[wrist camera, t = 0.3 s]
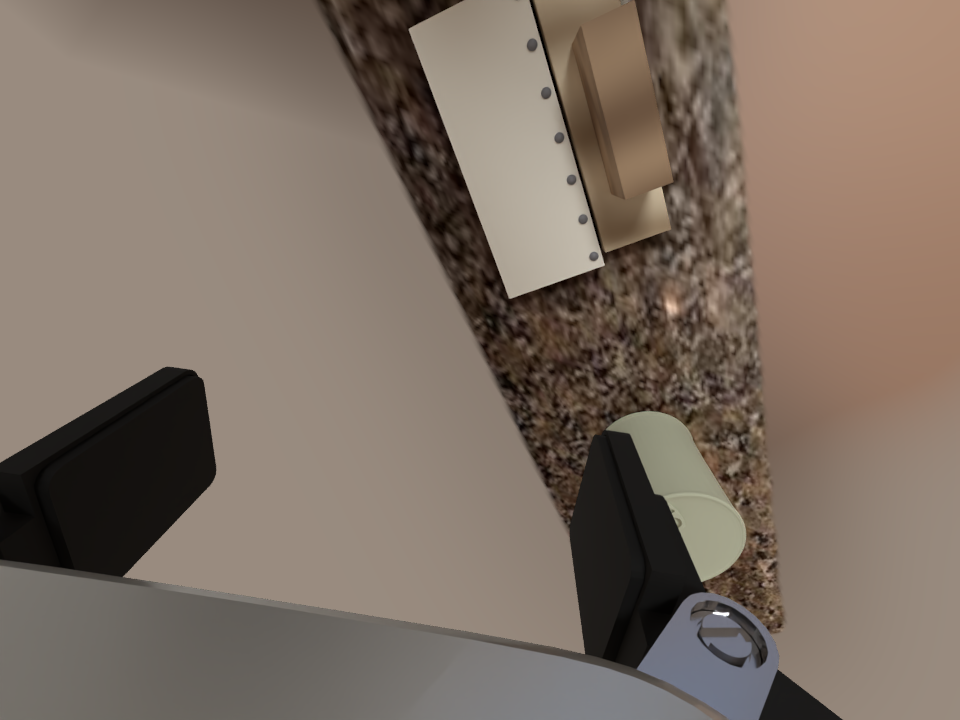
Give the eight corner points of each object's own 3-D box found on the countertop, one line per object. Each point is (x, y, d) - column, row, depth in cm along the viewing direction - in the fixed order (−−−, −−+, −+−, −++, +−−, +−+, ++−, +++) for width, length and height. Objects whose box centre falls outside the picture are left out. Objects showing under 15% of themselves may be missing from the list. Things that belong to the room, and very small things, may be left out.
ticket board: (413, 34, 32) (408, 28, 31) (520, -21, 30) (521, -30, 29) (509, 293, 39) (509, 299, 38) (601, 261, 37) (604, 265, 36)
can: (673, 395, 42) (727, 480, 31) (706, 469, 45) (766, 570, 34) (580, 433, 44) (600, 524, 33) (617, 501, 47) (646, 604, 36)
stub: (530, -7, 30) (532, -46, 25) (603, -44, 29) (625, -94, 23) (602, 249, 37) (618, 266, 31) (665, 226, 36) (694, 240, 30)
